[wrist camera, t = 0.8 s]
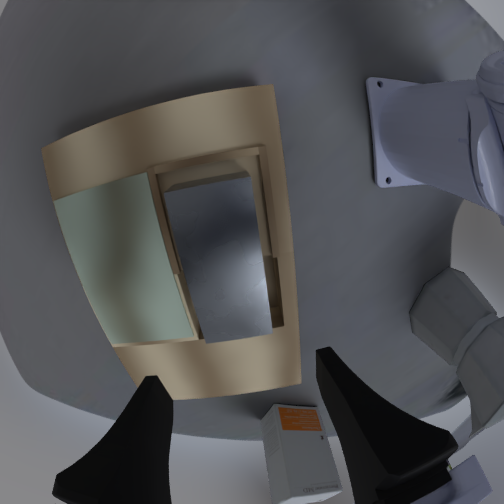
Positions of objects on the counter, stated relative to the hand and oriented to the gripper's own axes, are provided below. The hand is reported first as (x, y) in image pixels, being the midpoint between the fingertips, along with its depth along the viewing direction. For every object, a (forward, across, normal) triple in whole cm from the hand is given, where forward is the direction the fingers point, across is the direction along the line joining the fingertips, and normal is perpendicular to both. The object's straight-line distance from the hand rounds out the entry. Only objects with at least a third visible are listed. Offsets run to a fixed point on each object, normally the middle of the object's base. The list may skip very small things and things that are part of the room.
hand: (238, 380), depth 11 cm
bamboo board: (+9, +3, -1) cm, 10 cm away
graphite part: (+6, 0, -3) cm, 7 cm away
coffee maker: (+10, -21, +7) cm, 24 cm away
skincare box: (+10, -2, +20) cm, 22 cm away
